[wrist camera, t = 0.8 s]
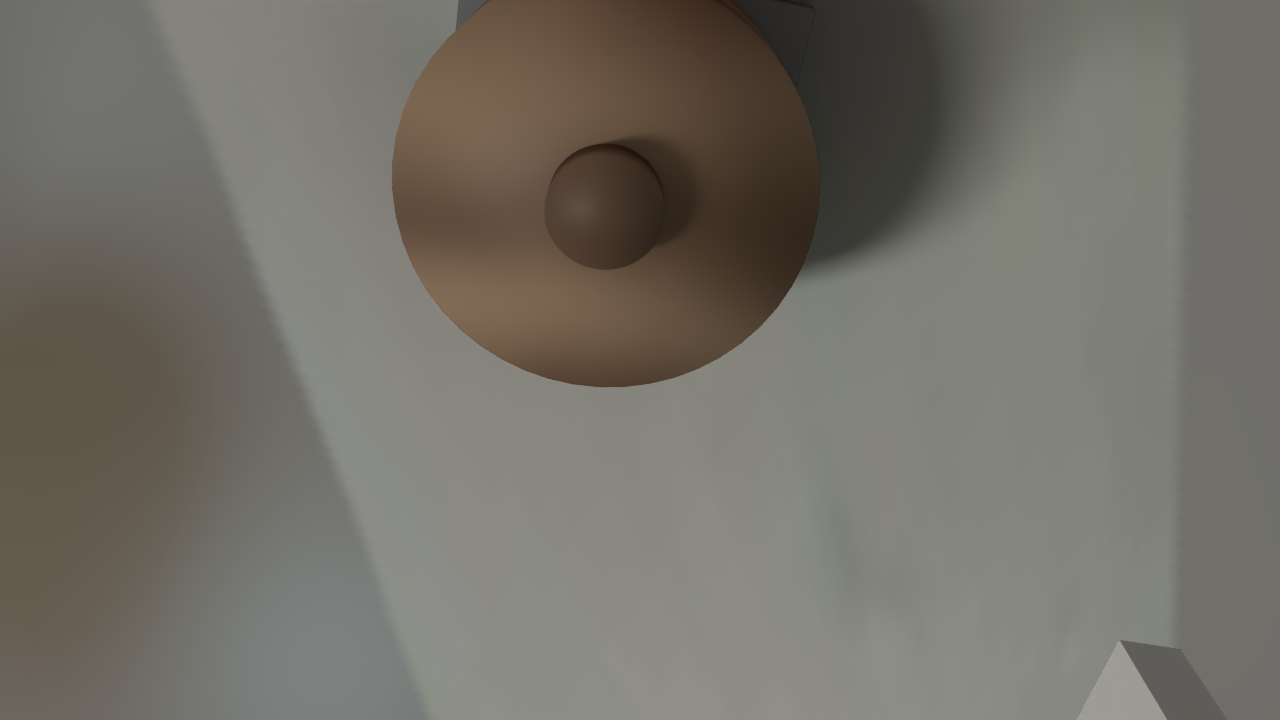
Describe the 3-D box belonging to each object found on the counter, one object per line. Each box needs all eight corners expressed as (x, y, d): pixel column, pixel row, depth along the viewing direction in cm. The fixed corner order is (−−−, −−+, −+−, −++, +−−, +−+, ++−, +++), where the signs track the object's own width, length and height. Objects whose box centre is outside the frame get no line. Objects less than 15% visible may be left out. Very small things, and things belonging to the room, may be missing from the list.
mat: (467, -62, 28) (464, -61, 27) (812, 6, 29) (815, 10, 28) (436, 263, 32) (432, 270, 32) (734, 314, 33) (736, 322, 33)
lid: (448, -84, 27) (399, -66, 22) (837, -5, 28) (881, 30, 23) (416, 281, 32) (369, 369, 27) (747, 338, 33) (766, 433, 28)
